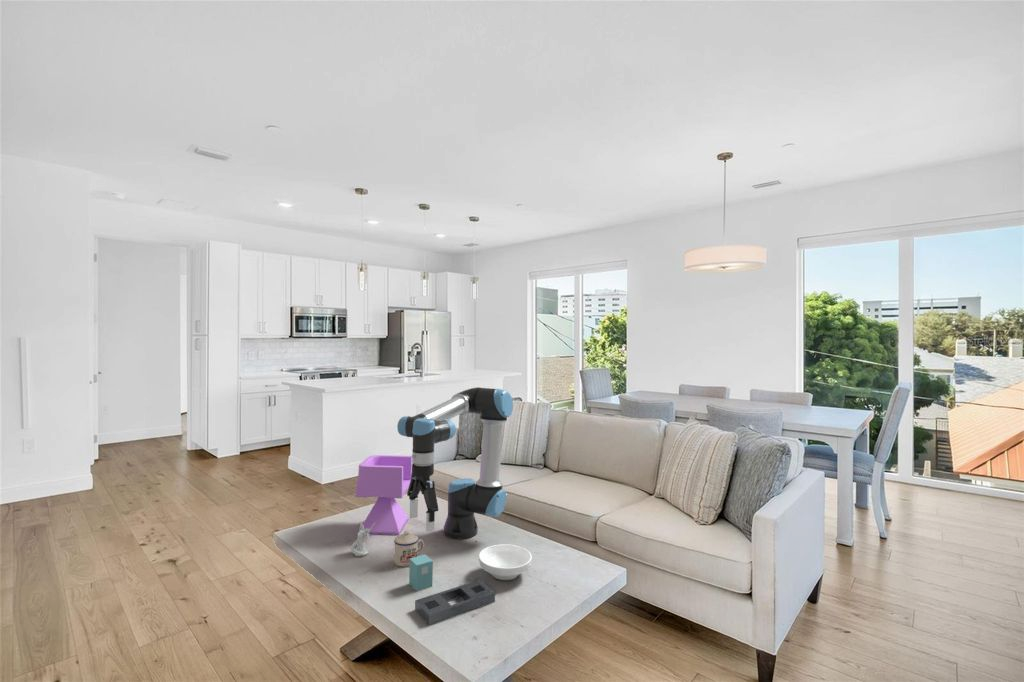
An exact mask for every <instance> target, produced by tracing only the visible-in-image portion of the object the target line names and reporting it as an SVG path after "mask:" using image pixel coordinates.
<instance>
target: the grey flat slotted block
mask: <svg viewBox="0 0 1024 682" xmlns="http://www.w3.org/2000/svg"><path fill="white" fill-rule="evenodd" d="M458 598H461V600H462V601H459V602H457V603H454V604H451V603H449V602H450V601H453V600H455V599H458ZM494 601H495V602H496V592H495V591H494V590H492V589H491V587H489V586H488V585H486V584H485V583H484V582H483V581H482V580H481V579H477V580H474V581H472V582H468V583H465V584H462V585H459V586H456V587H453V588H449V589H446V590H443V591H440V592H436V593H434V594H431V595H426V596H425V597H421V598H418V599H416V600H414V611H416V613H417V614H418V615H419V616H420V618H422V619H423V621H424V622H425V623H426V625H428V626H432V625H434V624H437V623H440V622H442V621H445V620H448V619H451V618H453V617H456V616H458V615H461V614H463V613H464V614H465V613H467V612H470V611H472V610H475V609H478V608H480V607H483V605H484V606H487V605H490V604H492V603H494ZM486 604H487V605H486Z"/></svg>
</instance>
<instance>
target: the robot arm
mask: <svg viewBox="0 0 1024 682" xmlns="http://www.w3.org/2000/svg"><path fill="white" fill-rule="evenodd" d="M513 409H514V401H513V397H512V395H511V393H510V392H509V391H508V390H506V389H501V388H490V387H489V388H487V387H472V388H468V389H465V390H463V391H460V392H457V393H455V394H454V395H452V397H451V398H450V399H447V400H446V401H444V402H441V403H440V404H437V405H435V406H433V407H431V408H429V409H427V410H424V411H423V412H420V413H418V414H415V415H413V416H409V415H407V416H406V415H404V416H402V417H400V418H399V420H398V422H397V426H396V427H397V433H398V434H399V435H400V436H404V437H407V438H412V450H411V451H412V454H411V455H410V456H411V457H412V474H411V481H410V485H409V488H408V489H407V491H406V492H407V493H406V496H407V497H409V498H408V499H409V519H416V518H418V514H419V513H418V511H419V510H418V509H419V507H418V506H419V505H418V504H419V499H418V498H419V494H420V492H421V494H422V495H423V498H424V502H425V506H426V513H425V514H426V515H425V516H426V518H425V520H426V521H425V522H426V523H425V532H426V533H427V532H432V531H435V519H436V518H435V516H436V513H435V512H439V505H438V500H437V499H438V498H437V494H436V486H435V485H436V483H435V481H434V480H432V481H431V478H430V477H431V476H433V475H434V473H435V471H434V470H435V468H434V467H435V466H434V465H435V444H438V443H441V442H447V441H448V440H450V439H453V438H454V436H455V435H456V431H457V429H456V424H455V423H454V421H453V420H451V419H453V418H455V417H457V416H464V415H466V414H477V415H480V419H479V420H481V422H482V423H483V424H482V438H481V439H482V440H481V451H480V452H481V453H480V468H479V479H478V480H477V481H475V479H473V478H471V477H470V478H468V477H467V478H458V479H455V480H452V481H450V483H449V484H448V489H447V516H446V519H445V522H444V525H443V531H442V532H443V535H444V536H445V537H448V538H451V539H454V540H455V539H456V540H464V539H465V540H466V539H470V538H472V537H475V536H476V535H478V531H479V530H478V529H479V528H478V527H479V526H478V523H477V520H476V516H475V514H478V515H481V516H482V515H483V516H486V517H492V518H493V517H494V518H497V517H499V516H500V515H501V514H502V513H503V511H504V509H505V508H506V505H507V500H508V493H507V491H506V490H505V489H503V482H502V481H501V480H500V474H501V460H502V448H503V447H502V446H503V434H504V433H503V431H504V430H503V429H504V424H505V423H506V422H507V421H508V418H509V417H511V415H512V413H513V411H514V410H513Z"/></svg>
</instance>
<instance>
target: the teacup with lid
mask: <svg viewBox="0 0 1024 682" xmlns="http://www.w3.org/2000/svg"><path fill="white" fill-rule="evenodd" d="M393 542H394V564H395V565H396V566H397V567H403V568H404V567H405V568H407V567H410V558H414V557H417V556H418V554H419V553H421V552H422V551H423V549H424V547H425V542H424V540H423V539H419V537H418V536H417V535H416V534H413V533H410V531H409V530H406V531H403V533H400V534H399V535H396V537H394V541H393ZM418 543H421V546H420V547H419V548H418V546H419V545H418Z"/></svg>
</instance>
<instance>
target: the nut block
mask: <svg viewBox="0 0 1024 682" xmlns="http://www.w3.org/2000/svg"><path fill="white" fill-rule="evenodd" d="M433 568H434V560H432V559H431V558H430V557H429V556H428V555H427V554H422V555H417V557H414V558H410V566H409V571H408V572H409V578H408V580H409V581H408V583H409V584H408V585H410V586H411V587H412V588H413V590H414V591H416V592H420V591H422V590H425V589H428V588H432V587H433V575H434V574H433V573H434V572H433Z"/></svg>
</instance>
